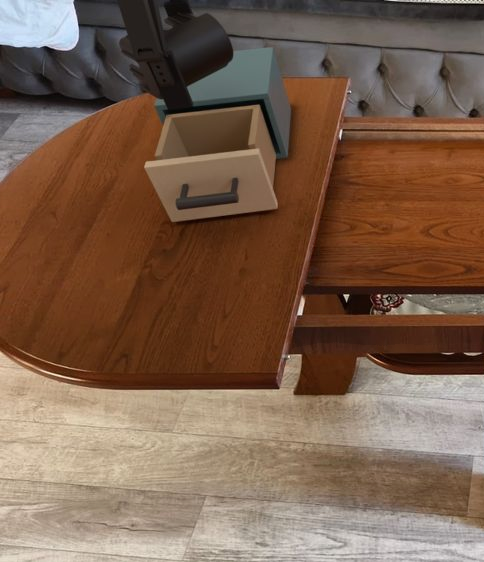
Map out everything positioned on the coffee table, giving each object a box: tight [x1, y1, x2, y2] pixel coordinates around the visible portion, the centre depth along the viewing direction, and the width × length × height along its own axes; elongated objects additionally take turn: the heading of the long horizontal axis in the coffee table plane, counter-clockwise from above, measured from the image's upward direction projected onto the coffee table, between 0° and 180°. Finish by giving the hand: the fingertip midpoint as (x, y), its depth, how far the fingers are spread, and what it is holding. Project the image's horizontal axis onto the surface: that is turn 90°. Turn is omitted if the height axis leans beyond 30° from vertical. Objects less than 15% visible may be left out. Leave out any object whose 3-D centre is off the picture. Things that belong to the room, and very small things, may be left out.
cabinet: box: [153, 46, 292, 160], centre depth 97 cm, size 13×15×11 cm
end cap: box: [118, 11, 234, 100], centre depth 79 cm, size 10×7×7 cm
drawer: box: [143, 105, 279, 223], centre depth 87 cm, size 16×13×9 cm
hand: (188, 78), depth 81 cm, fingers closed on end cap, 11 cm apart
